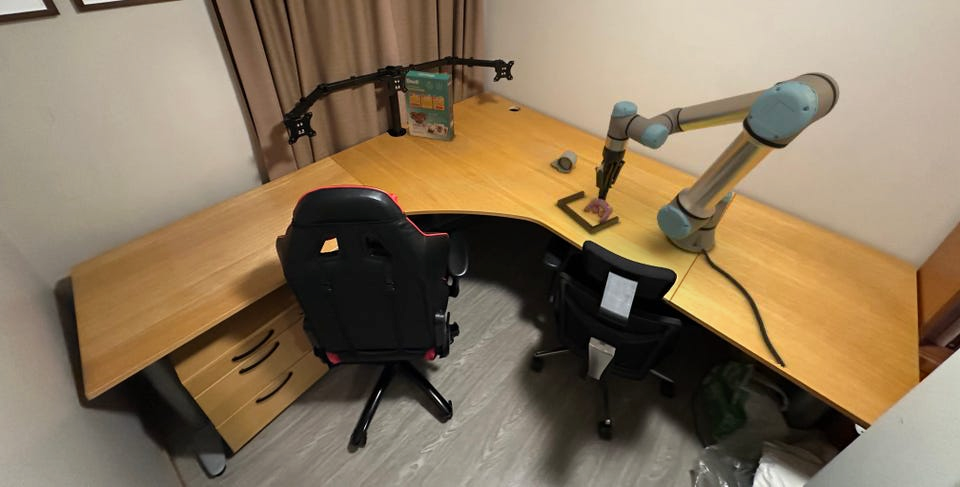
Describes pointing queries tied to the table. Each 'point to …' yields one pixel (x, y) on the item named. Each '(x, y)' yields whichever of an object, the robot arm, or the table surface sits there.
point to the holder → (578, 218)
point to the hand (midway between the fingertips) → (601, 200)
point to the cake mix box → (430, 105)
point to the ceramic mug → (565, 161)
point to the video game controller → (599, 204)
